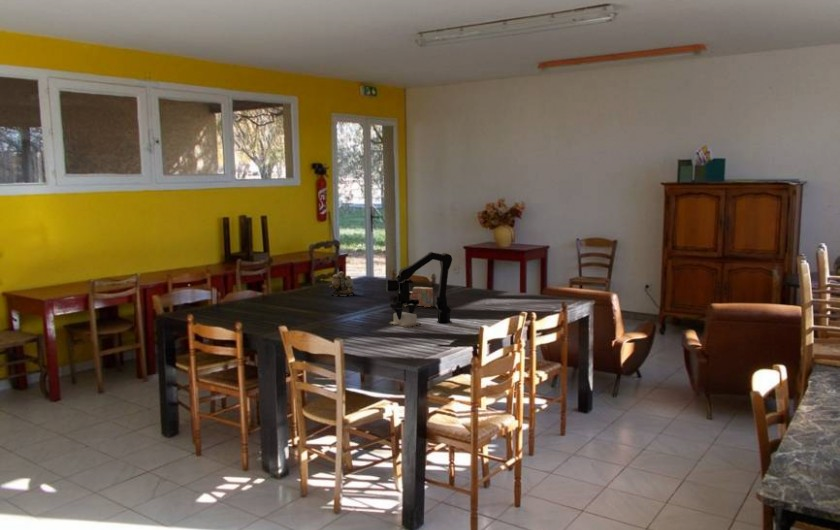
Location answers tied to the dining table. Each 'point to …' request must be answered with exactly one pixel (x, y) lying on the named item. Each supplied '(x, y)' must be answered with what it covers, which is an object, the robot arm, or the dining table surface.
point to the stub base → (404, 324)
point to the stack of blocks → (422, 296)
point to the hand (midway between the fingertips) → (404, 318)
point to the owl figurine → (342, 284)
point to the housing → (406, 318)
